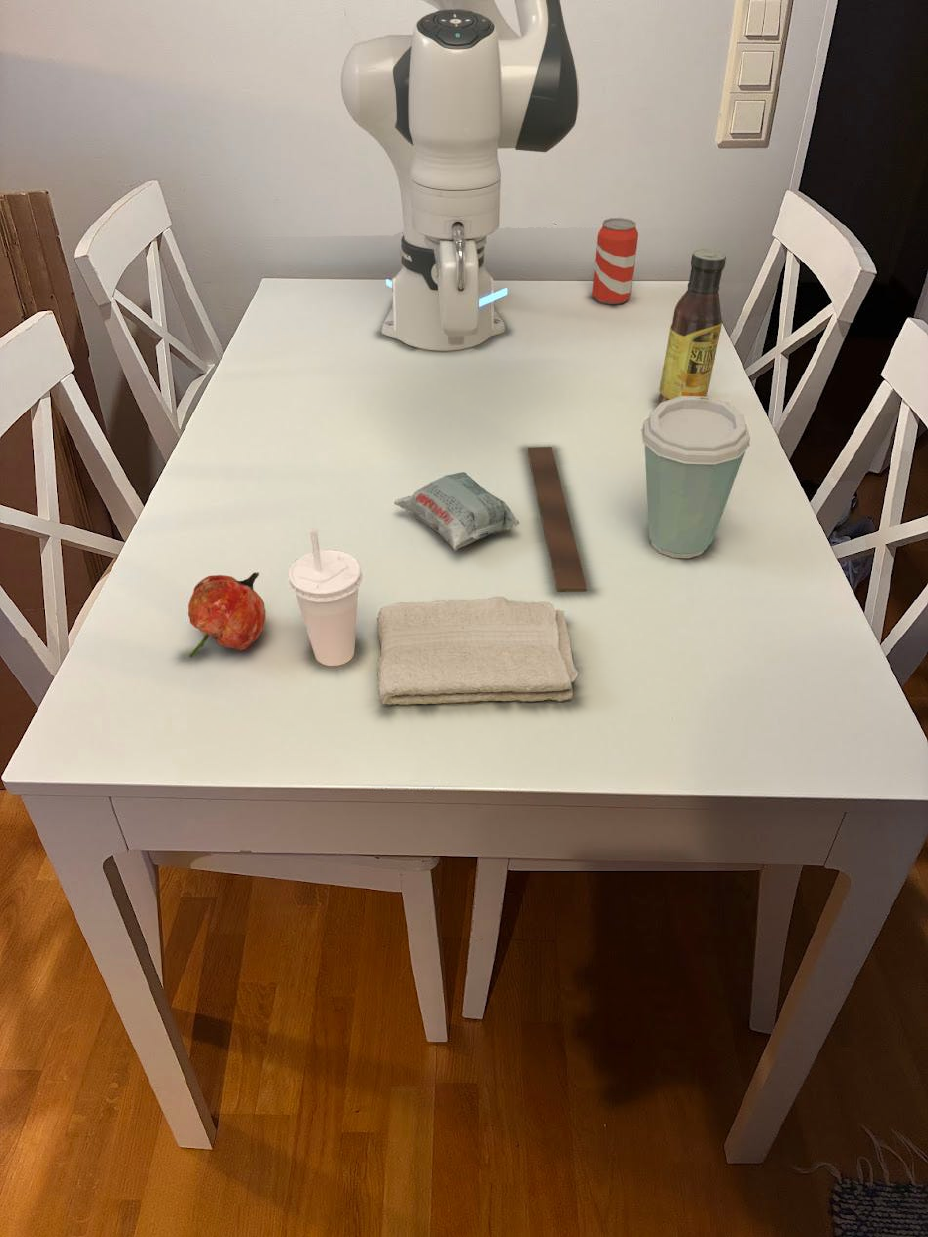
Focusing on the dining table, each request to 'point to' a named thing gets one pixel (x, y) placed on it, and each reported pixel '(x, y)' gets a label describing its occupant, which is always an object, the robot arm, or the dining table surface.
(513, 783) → the dining table surface
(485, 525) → the packaged food
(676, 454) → the disposable coffee cup
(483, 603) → the washcloth
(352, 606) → the smoothie
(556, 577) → the ruler
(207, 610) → the pomegranate
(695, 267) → the sauce bottle
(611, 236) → the beverage can
